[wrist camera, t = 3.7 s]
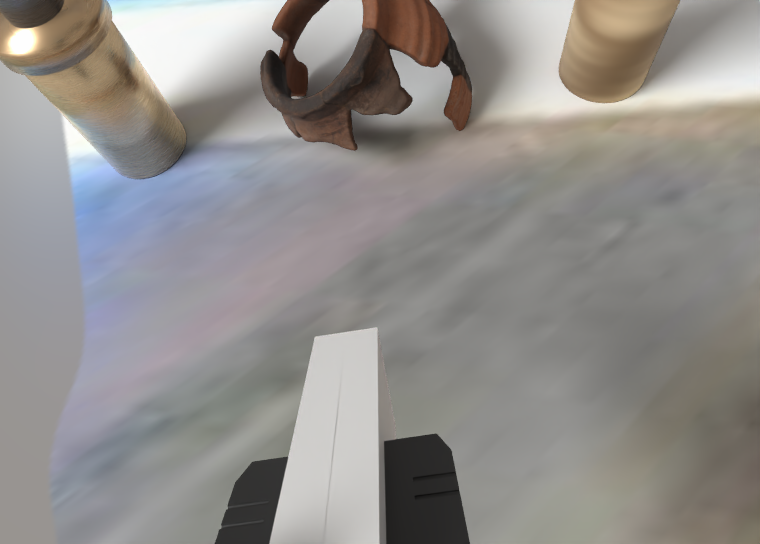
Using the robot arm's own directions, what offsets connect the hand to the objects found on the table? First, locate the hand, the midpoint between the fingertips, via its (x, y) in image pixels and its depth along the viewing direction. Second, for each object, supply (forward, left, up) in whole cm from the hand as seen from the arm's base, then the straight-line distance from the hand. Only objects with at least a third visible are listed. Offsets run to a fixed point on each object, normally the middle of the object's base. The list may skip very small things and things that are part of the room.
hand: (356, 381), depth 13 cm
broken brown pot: (+16, -10, -11) cm, 22 cm away
